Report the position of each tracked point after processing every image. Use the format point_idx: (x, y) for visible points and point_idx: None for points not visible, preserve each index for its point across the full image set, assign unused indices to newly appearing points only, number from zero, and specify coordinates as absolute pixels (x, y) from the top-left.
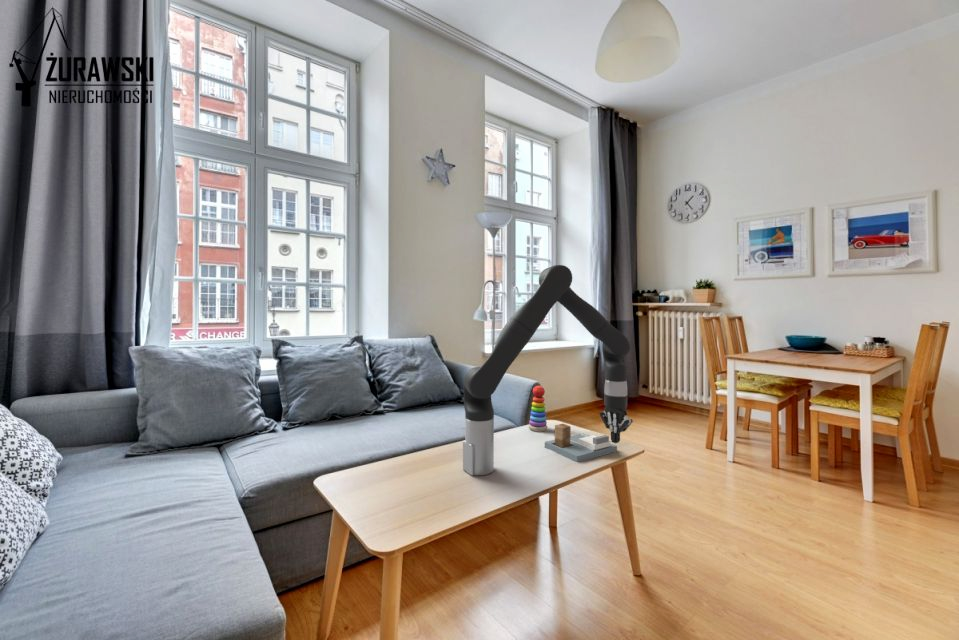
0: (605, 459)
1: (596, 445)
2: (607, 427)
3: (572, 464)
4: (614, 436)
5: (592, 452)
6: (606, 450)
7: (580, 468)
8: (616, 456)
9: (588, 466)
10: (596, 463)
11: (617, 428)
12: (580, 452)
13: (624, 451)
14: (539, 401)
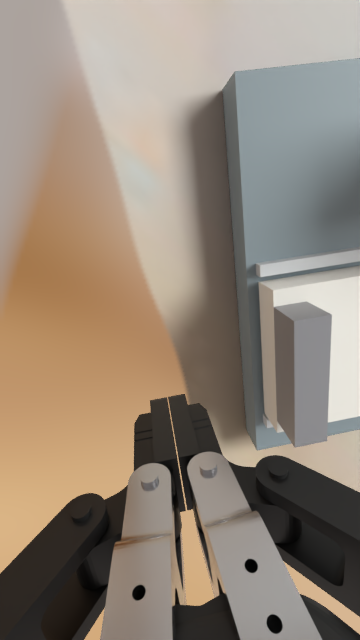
0: (181, 305)
1: (271, 307)
2: (268, 466)
3: (202, 19)
4: (156, 433)
5: (244, 250)
6: (248, 368)
7: (116, 23)
8: (192, 386)
9: (127, 116)
10: (151, 209)
11: (126, 531)
12: (282, 161)
13: (227, 459)
14: None
